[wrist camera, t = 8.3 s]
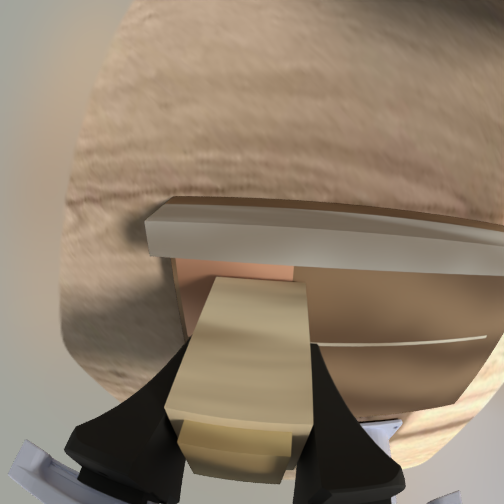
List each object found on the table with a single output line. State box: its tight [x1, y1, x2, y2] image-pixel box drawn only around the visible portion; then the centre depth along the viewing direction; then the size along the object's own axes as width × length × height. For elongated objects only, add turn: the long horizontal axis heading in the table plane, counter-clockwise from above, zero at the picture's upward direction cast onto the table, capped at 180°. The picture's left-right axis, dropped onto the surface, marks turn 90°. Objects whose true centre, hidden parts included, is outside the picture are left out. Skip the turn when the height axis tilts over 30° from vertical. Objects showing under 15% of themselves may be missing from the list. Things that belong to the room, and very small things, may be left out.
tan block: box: [164, 277, 313, 484], centre depth 10 cm, size 4×4×8 cm
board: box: [144, 196, 504, 417], centre depth 14 cm, size 16×22×3 cm
